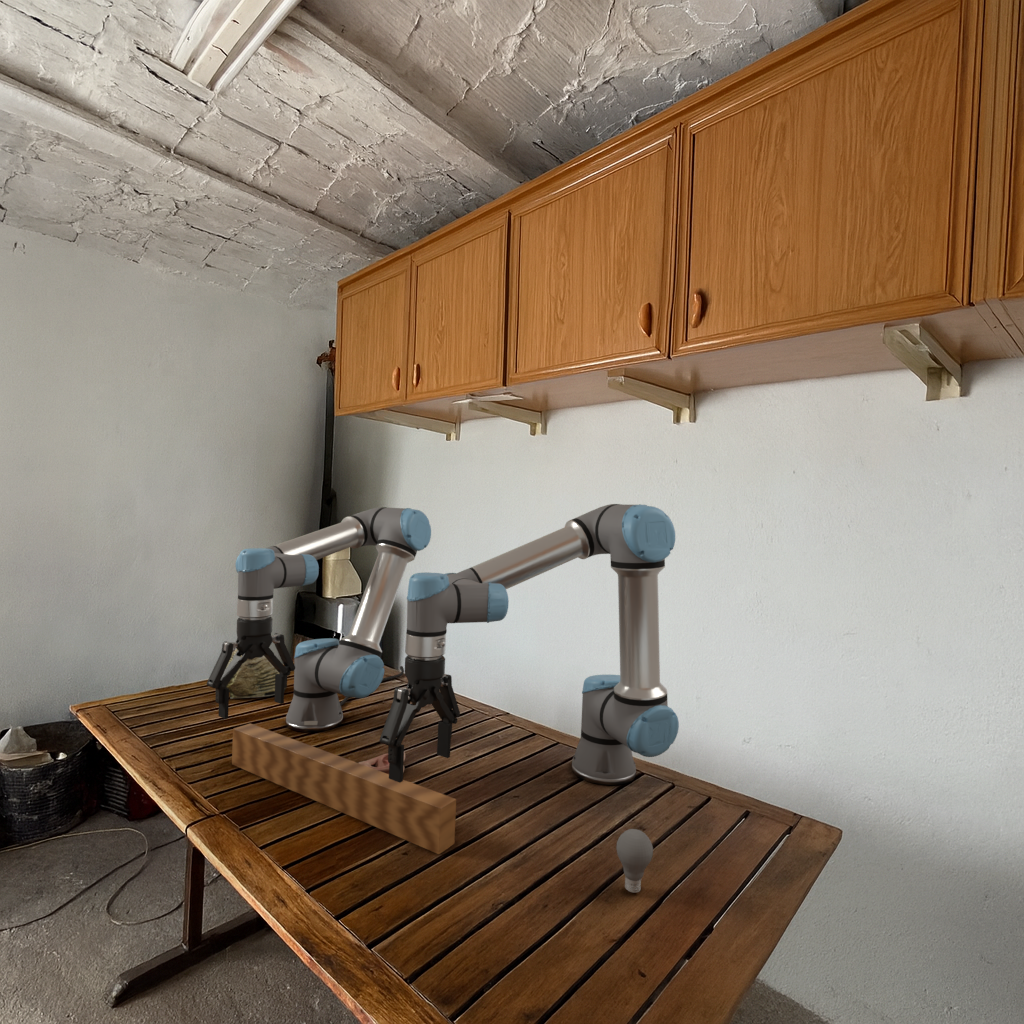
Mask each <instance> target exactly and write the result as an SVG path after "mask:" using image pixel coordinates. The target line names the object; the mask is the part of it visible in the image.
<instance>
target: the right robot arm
mask: <svg viewBox="0 0 1024 1024" xmlns="http://www.w3.org/2000/svg"><path fill="white" fill-rule="evenodd" d="M675 543H676V530H675V525H674V523H673V521H672V519H671V518H670V517H669V515H667V513H666V512H665V511H664V510H662V509H661V508H659V507H656V506H652V505H647V504H641V503H640V504H623V503H622V504H621V503H609V504H606V505H602V506H599V507H596V508H595V509H593V510H590V511H587V512H586V513H584V514H581V515H579V516H577V517H575V518H572V519H569V520H567V521H566V522H565V524H564V527H561V528H559V529H558V530H557V529H556V530H555V531H553V532H550V533H548V534H546V535H543V536H541V537H538V538H536V539H534V540H531V541H529V542H526V543H524V544H523V545H520V546H518V547H515V548H513V549H510V550H508V551H506V552H504V553H501V554H499V555H497V556H494V557H492V558H490V559H487V560H485V561H483V562H480V563H478V564H475V565H473V566H470V567H469V568H466V569H463V570H461V571H459V572H446V573H440V572H416V573H414V574H412V575H411V576H410V577H409V579H408V587H407V596H406V602H407V604H406V631H405V646H404V647H405V649H404V653H405V654H406V657H405V658H404V676H405V677H406V679H407V684H406V686H405V687H400V686H399V687H398V686H396V687H395V688H394V692H393V700H392V703H391V706H390V709H389V712H388V714H387V717H386V720H385V722H384V726H383V728H382V732H381V734H380V737H379V743H380V744H383V745H386V746H387V747H388V748H387V753H388V763H389V779H391V780H394V781H397V782H399V783H400V782H402V781H403V780H404V772H403V765H404V763H405V760H404V752H405V745H404V744H402V743H403V740H404V739H405V738H406V735H407V732H408V730H409V729H410V727H411V724H412V723H413V721H414V719H415V717H416V715H417V713H420V711H421V710H422V708H425V707H426V706H427V705H431V706H432V708H433V709H434V710H435V712H436V713H437V715H438V717H439V718H440V721H438V722H437V740H436V741H437V743H436V744H437V745H436V755H437V756H439V757H442V758H445V759H449V758H451V744H452V743H451V742H452V740H451V739H452V735H453V725H456V724H457V723H458V718H459V717H460V716H461V712H460V708H459V705H458V701H457V698H456V694H455V691H454V688H453V680H452V678H453V677H452V675H451V674H446V657H445V656H444V655H445V654H446V644H447V643H446V642H447V639H446V638H447V632H448V631H447V628H448V624H468V623H487V624H489V623H493V622H501V621H502V620H504V619H505V618H506V616H507V614H508V612H509V611H508V610H509V594H508V591H507V590H509V589H510V588H513V587H515V586H517V585H519V584H521V583H524V582H526V581H529V580H530V579H533V578H535V577H537V576H539V575H542V574H544V573H546V572H549V571H551V570H553V569H555V568H557V567H559V566H562V565H565V564H566V563H569V562H571V561H573V560H576V559H577V558H578V559H580V560H586V559H589V558H591V557H594V556H597V555H609V556H610V557H609V558H610V568H611V569H612V570H613V571H614V572H615V573H616V575H617V589H618V590H617V592H618V596H617V597H618V631H619V632H618V636H619V637H618V638H619V674H593V675H590V676H587V677H586V678H585V679H584V680H583V684H582V690H581V694H582V699H581V700H582V701H581V721H580V722H581V723H580V724H581V725H580V738H579V741H578V744H577V746H576V749H575V751H574V754H573V757H572V761H571V771H572V772H573V774H574V775H575V776H577V777H578V778H580V780H581V779H582V780H583V781H585V782H588V783H592V784H597V785H604V786H621V785H625V784H628V783H630V782H632V781H634V779H635V778H636V775H637V766H636V762H635V760H634V756H633V753H637V754H638V755H640V756H643V757H646V758H654V757H658V756H660V755H662V754H664V753H666V751H668V750H669V749H670V747H671V745H673V744H674V743H675V740H676V738H677V736H678V733H679V729H680V723H679V717H678V715H677V714H676V713H677V712H675V711H674V710H673V709H672V707H670V706H668V702H669V701H668V689H667V687H665V685H664V684H663V683H661V668H660V667H661V661H660V660H661V659H660V614H659V613H660V612H659V611H660V610H659V607H660V606H659V574H660V573H661V572H662V571H663V570H664V568H666V559H667V558H668V557H669V556H670V555H671V551H673V550H674V548H675Z"/></svg>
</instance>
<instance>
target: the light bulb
mask: <svg viewBox="0 0 1024 1024" xmlns="http://www.w3.org/2000/svg"><path fill="white" fill-rule="evenodd" d="M615 849H616V854H617V857H618V859H619V861H620V863H621V865H622V867H623V873H624V874H623V875H624V876H625V878H624V888H625V890H627V891H628V892H630V893H634V894H635V893H639V892H640V891H641V889H642V887H641V886H642V879H643V877H644V875H645V871H646V868H647V867H648V866H649V864H650V863H651V861H652V859H653V855H654V847H653V843H652V841H651V838H649V836H648V835H647V834H646V833H645V832H643V831H642V830H641V829H636V828H629V829H627V830H625V831H623V832H622V833H621V834H620V835H619V837H618V839H617V841H616V847H615Z"/></svg>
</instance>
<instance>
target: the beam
mask: <svg viewBox="0 0 1024 1024" xmlns="http://www.w3.org/2000/svg"><path fill="white" fill-rule="evenodd" d="M231 765H233V766H234V767H237V768H239V769H241V770H244V771H246V772H248V773H250V774H253V775H254V776H257V777H260V778H262V779H265V780H266V781H269V782H271V783H274V784H275V785H278V786H280V787H283V788H285V789H287V790H289V791H292V792H294V793H297V794H299V795H301V796H303V797H305V798H308V799H311V800H313V801H314V802H317V803H319V804H322V805H324V806H327V807H329V808H331V809H333V810H335V811H338V812H340V813H342V814H344V815H347V816H349V817H352V818H354V819H356V820H359V821H361V822H363V823H366V824H368V825H369V826H372V827H375V828H376V829H379V830H382V831H384V832H386V833H389V834H391V835H393V836H396V837H397V838H400V839H402V840H404V841H407V842H409V843H410V844H411V843H412V844H414V845H415V846H418V847H420V848H423V849H425V850H428V851H430V852H432V853H434V854H437V855H441V854H442V853H443V852H445V851H446V850H448V849H449V848H450V847H452V846H453V845H455V842H456V841H455V839H456V817H457V816H456V815H457V798H454V797H451V796H449V795H447V794H444V793H440V792H438V791H435V790H432V789H430V788H428V787H425V786H422V785H419V784H416V783H413V782H412V781H409V780H406V779H403V781H402V782H400V783H399V782H397V781H394V780H391V779H389V774H386V773H384V772H381V771H378V770H376V769H373V768H370V767H367V766H365V765H362V764H359V762H356V761H354V760H351V759H348V758H345V757H343V756H340V755H337V754H334V753H332V752H329V751H326V750H323V749H321V748H319V747H316V746H313V745H310V744H308V743H305V742H302V741H300V740H297V739H294V738H292V737H288V736H286V735H283V734H280V733H279V732H278V733H277V732H276V731H272V730H270V729H266V728H264V727H261V726H259V725H256V724H254V723H247V724H244V725H240V726H237V727H234V728H233V729H232V748H231Z"/></svg>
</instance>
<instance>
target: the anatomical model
mask: <svg viewBox="0 0 1024 1024" xmlns="http://www.w3.org/2000/svg"><path fill="white" fill-rule="evenodd" d="M405 760H406V751H404V761H405ZM358 763H359V764H362V765H365V766H367V767H370V768H373V769H376V770H378V771H381V772H384V773H386V774H389V763H388V752H387V753H383V754H381V755H378V756H375V757H373V758H370V759H367V760H363V761H359V762H358ZM404 772H405V765H404V764H403V773H404Z"/></svg>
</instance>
